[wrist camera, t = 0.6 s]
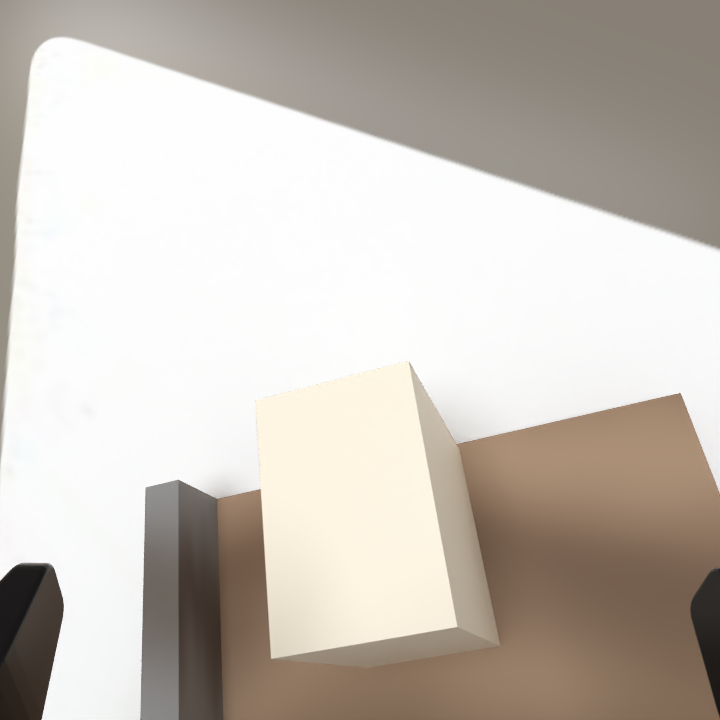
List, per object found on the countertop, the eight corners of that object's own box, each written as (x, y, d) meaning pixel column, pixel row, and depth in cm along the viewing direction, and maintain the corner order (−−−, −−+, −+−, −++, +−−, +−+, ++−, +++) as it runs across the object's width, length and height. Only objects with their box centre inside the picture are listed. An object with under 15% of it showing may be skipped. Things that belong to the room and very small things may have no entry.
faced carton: (459, 449, 22) (408, 360, 16) (500, 646, 19) (456, 626, 13) (336, 477, 23) (244, 403, 17) (358, 669, 20) (257, 660, 14)
